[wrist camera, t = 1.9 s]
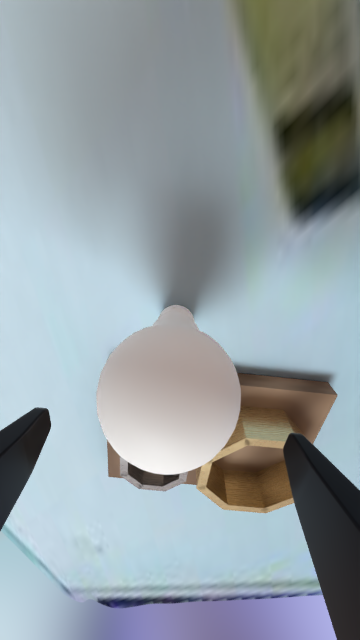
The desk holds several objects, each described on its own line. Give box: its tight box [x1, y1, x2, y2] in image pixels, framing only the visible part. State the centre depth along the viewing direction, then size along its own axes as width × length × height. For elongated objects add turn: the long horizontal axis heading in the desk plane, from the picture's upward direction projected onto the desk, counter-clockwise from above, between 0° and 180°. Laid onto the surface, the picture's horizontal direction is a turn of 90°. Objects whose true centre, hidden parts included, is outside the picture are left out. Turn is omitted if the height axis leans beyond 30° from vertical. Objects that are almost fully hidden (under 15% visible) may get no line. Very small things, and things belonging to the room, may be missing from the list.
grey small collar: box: [120, 456, 188, 491], centre depth 20 cm, size 5×5×3 cm
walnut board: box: [107, 373, 337, 485], centre depth 22 cm, size 18×13×2 cm
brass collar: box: [196, 406, 305, 513], centre depth 20 cm, size 9×9×3 cm
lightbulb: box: [97, 305, 241, 475], centre depth 13 cm, size 6×6×11 cm
